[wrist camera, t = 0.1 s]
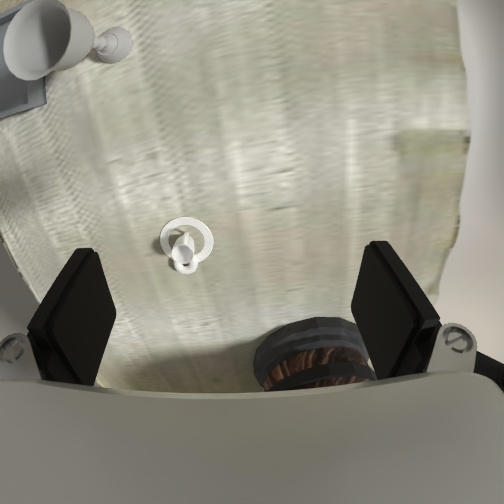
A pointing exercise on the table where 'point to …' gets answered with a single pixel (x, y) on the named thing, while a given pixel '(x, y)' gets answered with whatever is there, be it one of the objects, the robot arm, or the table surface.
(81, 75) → the table surface
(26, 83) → the tray
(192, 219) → the teacup and saucer
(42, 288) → the table surface
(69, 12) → the chalice
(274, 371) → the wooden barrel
